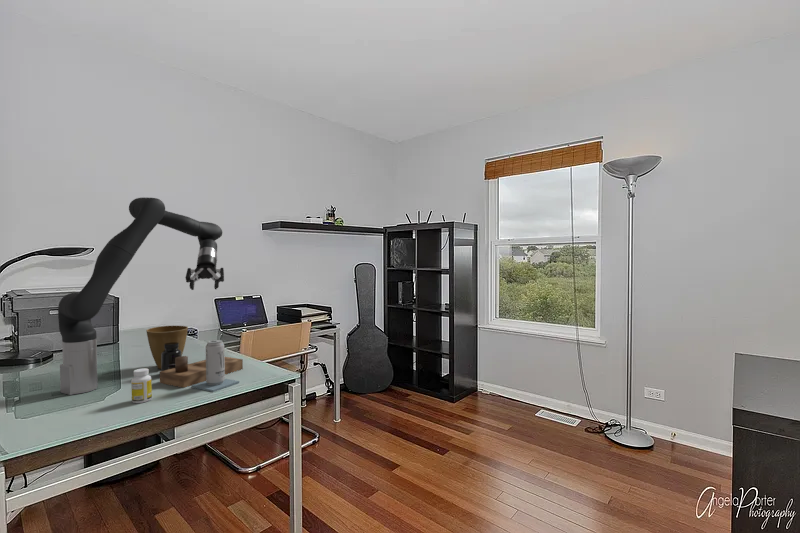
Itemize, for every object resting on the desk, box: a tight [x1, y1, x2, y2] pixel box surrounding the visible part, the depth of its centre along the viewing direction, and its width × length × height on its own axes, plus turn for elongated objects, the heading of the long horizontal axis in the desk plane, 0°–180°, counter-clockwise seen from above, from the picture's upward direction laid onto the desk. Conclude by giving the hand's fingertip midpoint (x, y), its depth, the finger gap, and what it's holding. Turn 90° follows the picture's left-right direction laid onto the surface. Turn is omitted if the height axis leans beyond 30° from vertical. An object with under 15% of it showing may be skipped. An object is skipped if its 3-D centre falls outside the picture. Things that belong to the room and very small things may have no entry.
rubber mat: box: [191, 378, 240, 393], centre depth 144 cm, size 11×11×1 cm
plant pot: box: [146, 325, 189, 370], centre depth 168 cm, size 15×15×16 cm
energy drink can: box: [205, 339, 226, 385], centre depth 144 cm, size 6×6×15 cm
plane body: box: [159, 355, 244, 389], centre depth 156 cm, size 26×13×9 cm, turn 154°
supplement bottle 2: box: [160, 342, 181, 372], centre depth 158 cm, size 7×7×12 cm
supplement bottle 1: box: [130, 367, 153, 404], centre depth 129 cm, size 5×5×10 cm
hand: (204, 288), depth 165 cm, fingers open, 8 cm apart
